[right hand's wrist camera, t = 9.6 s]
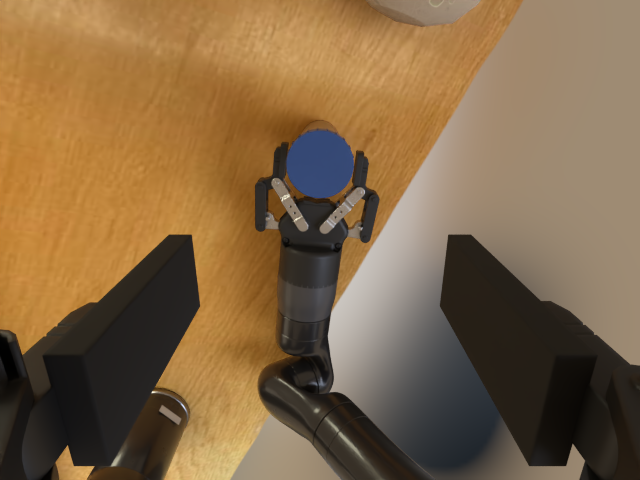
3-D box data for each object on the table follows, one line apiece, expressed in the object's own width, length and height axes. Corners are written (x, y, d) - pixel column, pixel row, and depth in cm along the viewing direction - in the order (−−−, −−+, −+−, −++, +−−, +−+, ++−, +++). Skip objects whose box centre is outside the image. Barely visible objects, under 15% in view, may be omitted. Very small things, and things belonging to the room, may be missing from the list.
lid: (273, 161, 36) (271, 165, 34) (320, 112, 34) (320, 114, 32) (319, 206, 37) (319, 212, 35) (366, 161, 36) (368, 165, 34)
